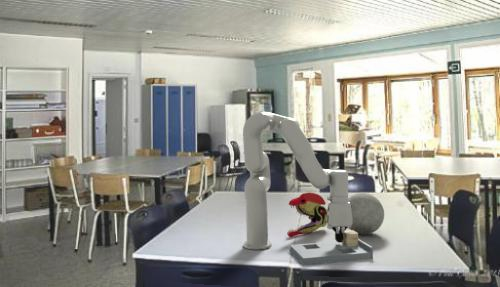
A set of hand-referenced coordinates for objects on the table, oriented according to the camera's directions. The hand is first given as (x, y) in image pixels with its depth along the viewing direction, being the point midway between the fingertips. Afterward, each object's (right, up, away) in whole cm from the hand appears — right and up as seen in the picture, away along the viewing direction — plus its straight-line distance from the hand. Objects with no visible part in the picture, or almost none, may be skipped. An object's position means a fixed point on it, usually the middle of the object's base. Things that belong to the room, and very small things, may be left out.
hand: (339, 241), depth 178 cm
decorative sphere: (+17, -2, +25) cm, 30 cm away
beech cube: (+5, -1, +1) cm, 5 cm away
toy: (-9, -3, +28) cm, 30 cm away
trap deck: (-5, -4, -5) cm, 9 cm away
